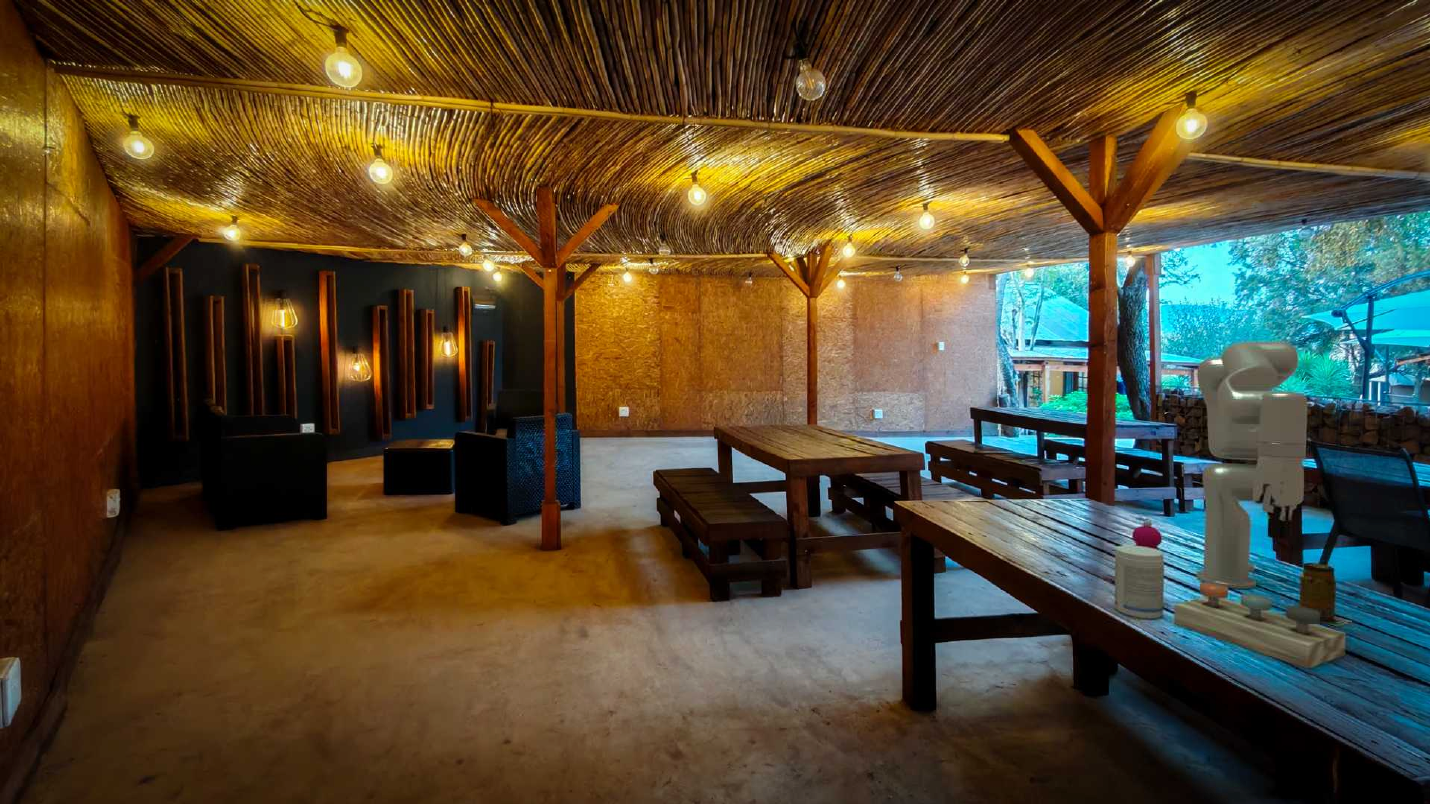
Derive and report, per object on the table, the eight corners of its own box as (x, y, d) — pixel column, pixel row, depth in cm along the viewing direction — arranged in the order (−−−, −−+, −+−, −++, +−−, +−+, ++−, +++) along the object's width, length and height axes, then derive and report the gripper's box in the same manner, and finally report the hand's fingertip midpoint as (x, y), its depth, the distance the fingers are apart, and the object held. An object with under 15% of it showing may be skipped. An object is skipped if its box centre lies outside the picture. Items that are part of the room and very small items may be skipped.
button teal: (1248, 615, 141) (1249, 592, 141) (1275, 623, 137) (1276, 599, 136) (1234, 619, 139) (1235, 595, 139) (1262, 627, 135) (1263, 603, 134)
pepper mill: (1168, 607, 156) (1171, 524, 155) (1134, 605, 158) (1137, 522, 157) (1154, 596, 164) (1157, 517, 163) (1122, 595, 165) (1125, 516, 164)
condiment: (1305, 609, 155) (1308, 559, 154) (1352, 622, 147) (1355, 569, 147) (1289, 614, 152) (1292, 563, 151) (1337, 627, 144) (1339, 574, 143)
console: (1211, 614, 152) (1211, 595, 152) (1344, 655, 130) (1345, 632, 130) (1174, 624, 146) (1174, 604, 146) (1307, 668, 124) (1308, 645, 124)
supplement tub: (1173, 618, 150) (1175, 554, 149) (1138, 621, 148) (1140, 557, 147) (1137, 603, 159) (1138, 543, 158) (1104, 606, 157) (1105, 546, 156)
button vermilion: (1207, 603, 149) (1208, 581, 148) (1232, 610, 144) (1233, 588, 144) (1194, 607, 146) (1194, 584, 146) (1219, 614, 142) (1219, 591, 142)
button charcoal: (1293, 628, 134) (1294, 604, 134) (1324, 638, 129) (1325, 612, 129) (1280, 633, 132) (1281, 608, 132) (1311, 642, 127) (1312, 616, 127)
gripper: (1279, 448, 144) (1276, 531, 145) (1240, 450, 138) (1237, 537, 138) (1322, 451, 137) (1319, 538, 138) (1283, 454, 131) (1280, 545, 131)
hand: (1278, 538), depth 138 cm, fingers closed
